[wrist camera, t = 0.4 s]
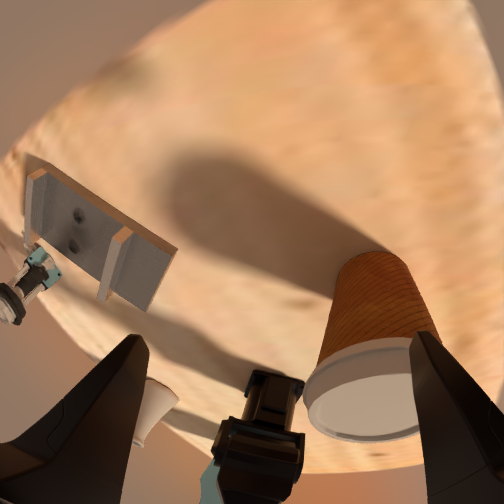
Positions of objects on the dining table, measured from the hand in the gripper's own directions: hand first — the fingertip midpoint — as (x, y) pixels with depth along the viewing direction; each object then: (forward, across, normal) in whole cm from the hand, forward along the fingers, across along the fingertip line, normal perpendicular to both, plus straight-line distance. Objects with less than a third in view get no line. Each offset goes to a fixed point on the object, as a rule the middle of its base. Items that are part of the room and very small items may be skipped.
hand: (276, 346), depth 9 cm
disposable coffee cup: (+13, -7, +9) cm, 18 cm away
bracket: (+17, +18, +6) cm, 25 cm away
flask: (+16, +20, +33) cm, 42 cm away
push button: (+18, +29, +9) cm, 36 cm away
